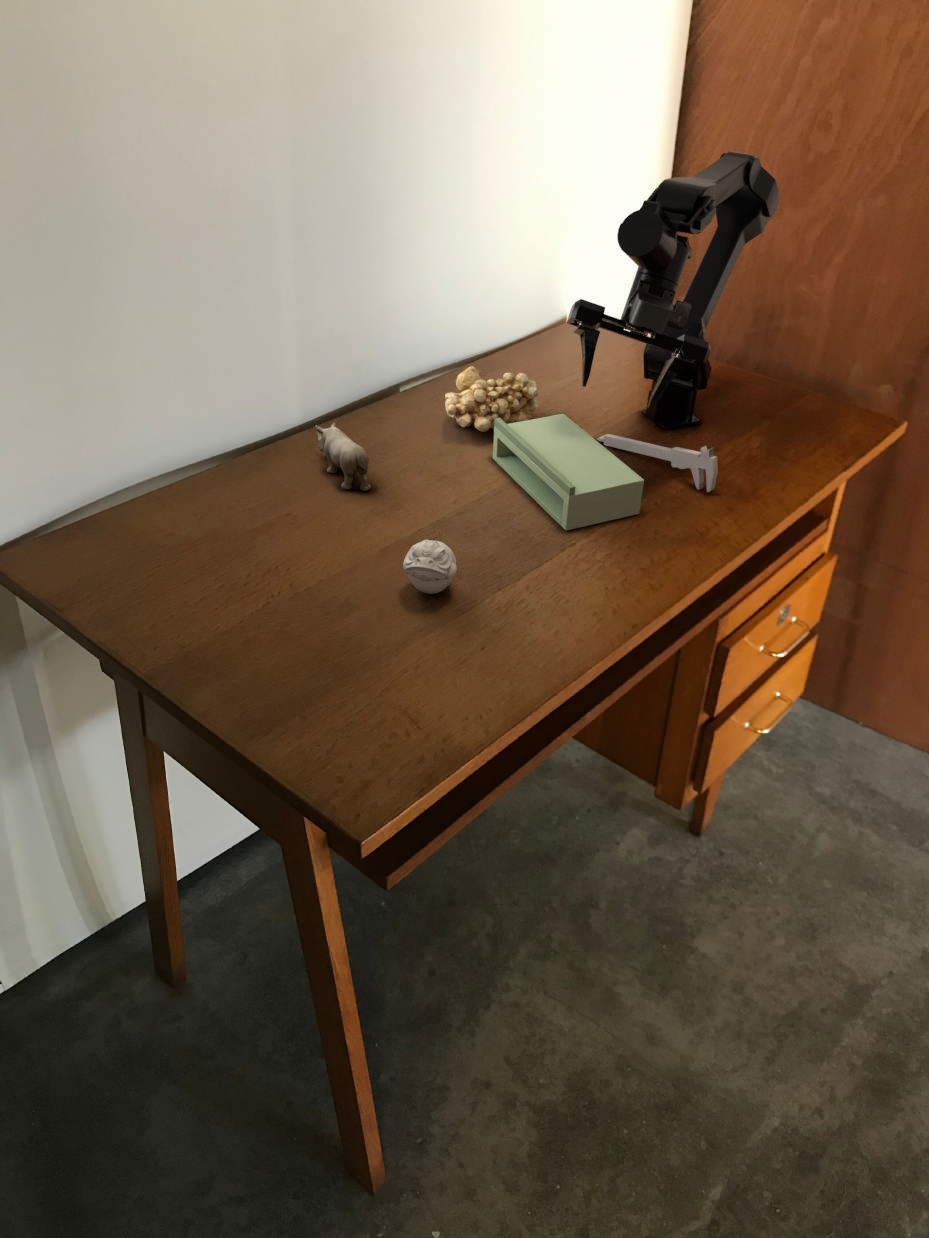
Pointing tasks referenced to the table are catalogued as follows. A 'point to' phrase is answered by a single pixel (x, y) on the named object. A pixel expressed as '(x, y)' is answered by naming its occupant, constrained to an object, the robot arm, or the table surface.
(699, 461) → the caliper
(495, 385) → the mineral formation
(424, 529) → the table surface
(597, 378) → the table surface
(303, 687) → the table surface
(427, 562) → the frog figurine
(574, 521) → the desk shelf
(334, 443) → the rhino figurine
